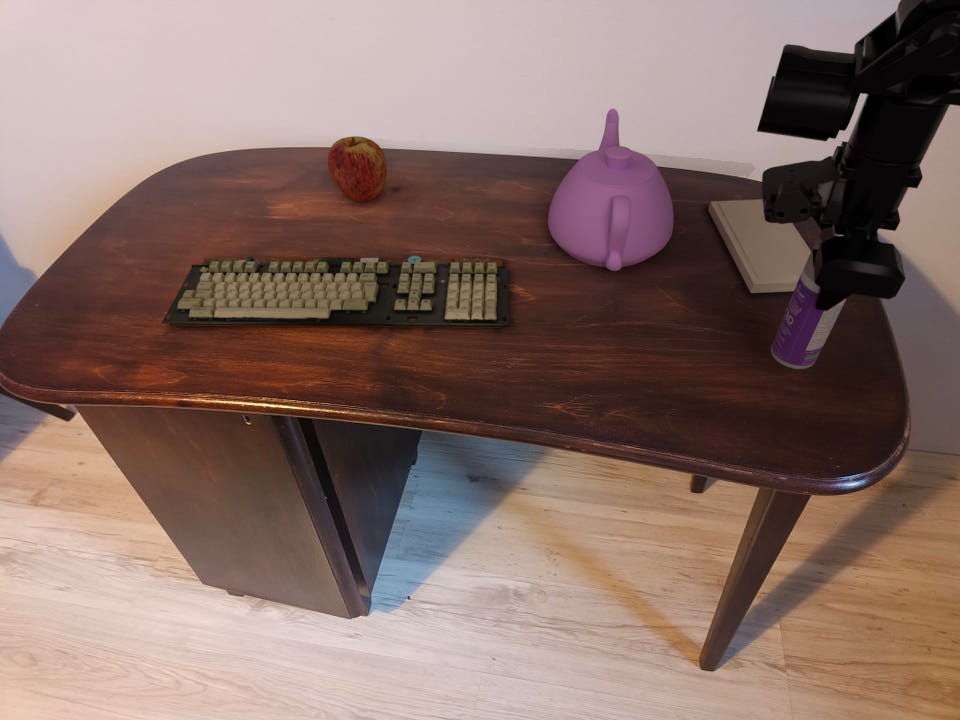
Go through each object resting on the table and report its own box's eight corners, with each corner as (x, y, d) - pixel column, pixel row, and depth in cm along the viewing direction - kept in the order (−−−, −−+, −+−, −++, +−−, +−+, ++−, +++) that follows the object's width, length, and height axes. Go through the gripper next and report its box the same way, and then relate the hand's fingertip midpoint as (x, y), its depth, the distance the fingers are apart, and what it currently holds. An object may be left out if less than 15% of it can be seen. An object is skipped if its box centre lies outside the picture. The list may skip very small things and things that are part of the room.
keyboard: (163, 329, 82) (155, 314, 81) (201, 261, 93) (195, 246, 91) (510, 330, 80) (510, 315, 78) (511, 260, 90) (511, 245, 89)
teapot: (680, 287, 85) (703, 197, 75) (547, 285, 86) (552, 196, 77) (656, 189, 103) (672, 105, 93) (546, 188, 104) (550, 106, 94)
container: (761, 347, 71) (806, 233, 60) (793, 334, 72) (843, 220, 61) (792, 374, 68) (846, 260, 57) (825, 360, 69) (883, 245, 58)
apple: (325, 206, 102) (311, 148, 95) (349, 178, 108) (338, 121, 101) (377, 214, 100) (367, 155, 93) (399, 185, 106) (391, 127, 99)
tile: (826, 290, 84) (831, 278, 82) (750, 293, 84) (754, 281, 82) (772, 207, 98) (776, 196, 96) (708, 210, 98) (710, 198, 96)
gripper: (783, 91, 61) (740, 230, 72) (781, 190, 48) (730, 339, 60) (913, 104, 58) (848, 245, 69) (946, 212, 46) (860, 363, 57)
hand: (820, 293), depth 64 cm, fingers closed on container, 5 cm apart
